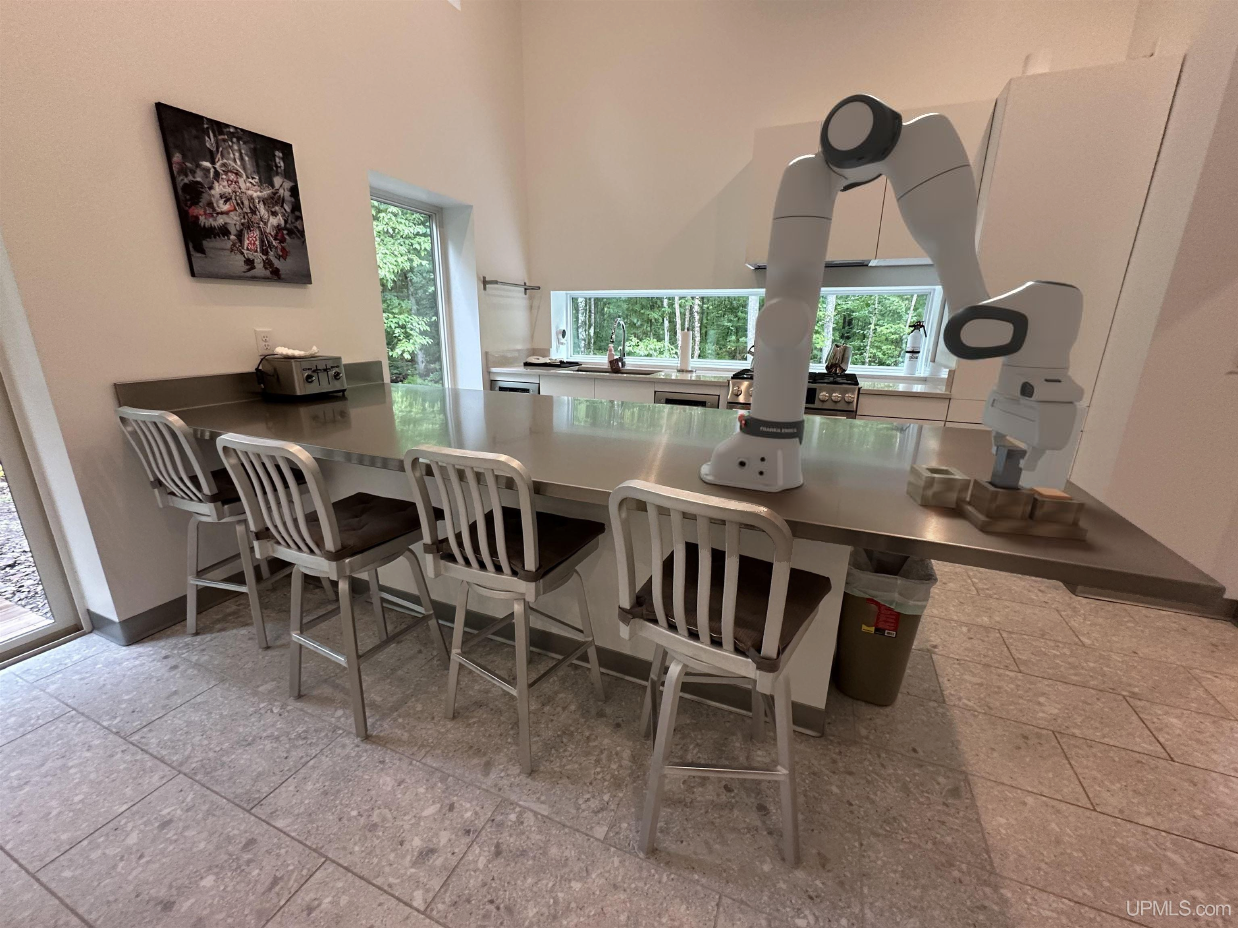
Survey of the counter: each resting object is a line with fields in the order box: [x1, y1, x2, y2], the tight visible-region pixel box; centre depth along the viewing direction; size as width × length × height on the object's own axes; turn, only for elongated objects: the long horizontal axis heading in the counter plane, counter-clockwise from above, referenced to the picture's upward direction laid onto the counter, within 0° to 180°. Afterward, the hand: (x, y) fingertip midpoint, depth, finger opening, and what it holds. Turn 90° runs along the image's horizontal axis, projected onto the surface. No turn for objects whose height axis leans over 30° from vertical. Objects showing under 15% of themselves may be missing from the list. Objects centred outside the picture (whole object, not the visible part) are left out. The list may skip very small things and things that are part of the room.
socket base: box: [954, 477, 1090, 541], centre depth 90 cm, size 16×10×7 cm, turn 78°
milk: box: [1019, 401, 1088, 492], centre depth 105 cm, size 6×6×22 cm
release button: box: [1030, 487, 1072, 500], centre depth 89 cm, size 4×4×4 cm
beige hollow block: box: [905, 464, 972, 509], centre depth 101 cm, size 8×8×6 cm
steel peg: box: [989, 444, 1027, 490], centre depth 89 cm, size 3×3×12 cm
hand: (1011, 462), depth 88 cm, fingers open, 8 cm apart
